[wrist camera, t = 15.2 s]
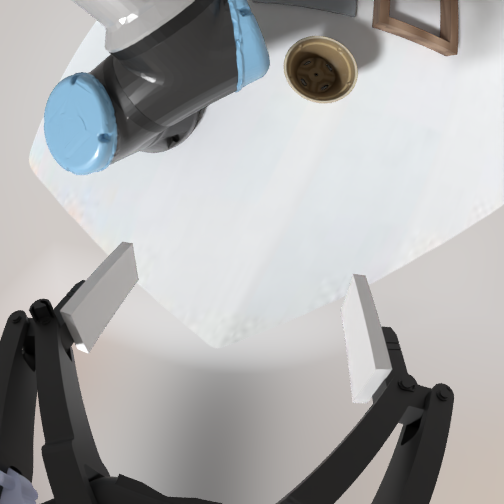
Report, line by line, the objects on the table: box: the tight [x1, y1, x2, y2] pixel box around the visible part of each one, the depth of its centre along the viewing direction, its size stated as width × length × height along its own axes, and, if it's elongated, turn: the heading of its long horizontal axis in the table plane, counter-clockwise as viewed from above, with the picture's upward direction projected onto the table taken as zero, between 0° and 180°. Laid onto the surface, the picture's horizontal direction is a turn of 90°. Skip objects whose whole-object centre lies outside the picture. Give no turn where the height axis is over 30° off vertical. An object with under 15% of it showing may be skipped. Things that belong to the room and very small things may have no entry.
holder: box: [372, 0, 458, 56], centre depth 24 cm, size 14×14×4 cm
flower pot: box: [284, 36, 358, 103], centre depth 32 cm, size 9×9×9 cm
